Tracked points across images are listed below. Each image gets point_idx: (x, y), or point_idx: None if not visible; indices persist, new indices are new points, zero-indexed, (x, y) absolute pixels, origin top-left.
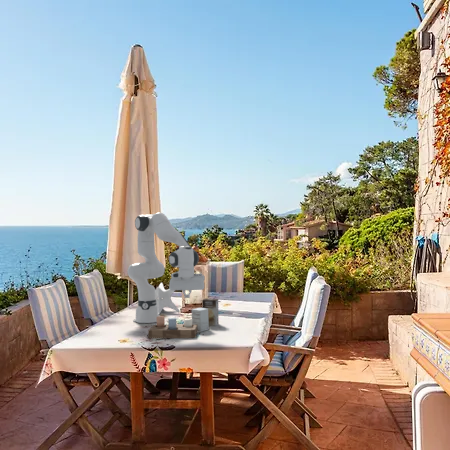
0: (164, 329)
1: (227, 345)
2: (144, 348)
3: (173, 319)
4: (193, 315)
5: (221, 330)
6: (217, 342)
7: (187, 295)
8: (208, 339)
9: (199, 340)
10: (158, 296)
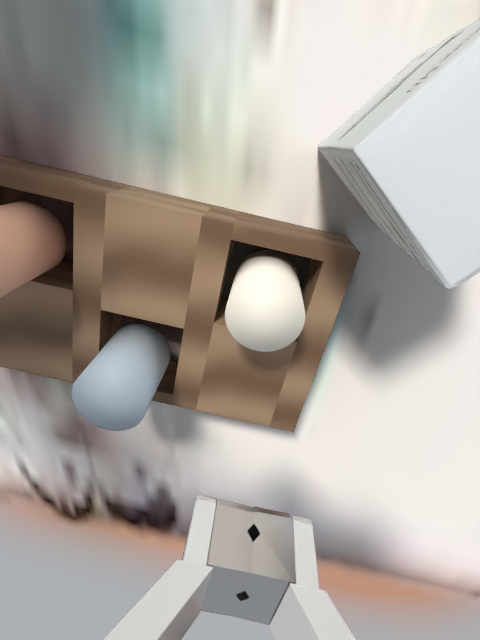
0: (82, 365)
1: (409, 556)
2: (45, 503)
3: (122, 429)
4: (356, 175)
5: None
6: (384, 507)
7: (250, 603)
8: (359, 447)
9: (305, 452)
10: None
